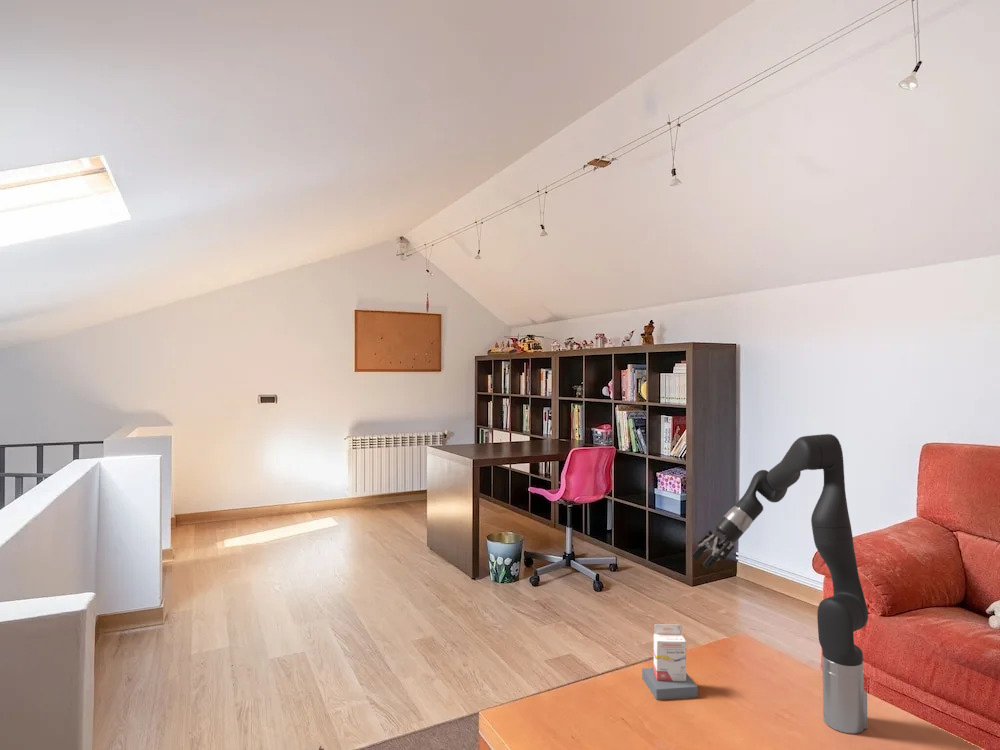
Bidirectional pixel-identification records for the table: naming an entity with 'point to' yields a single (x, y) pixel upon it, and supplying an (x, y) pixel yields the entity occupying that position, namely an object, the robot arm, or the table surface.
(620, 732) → the table surface
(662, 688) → the slate plate
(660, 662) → the ink cartridge box
